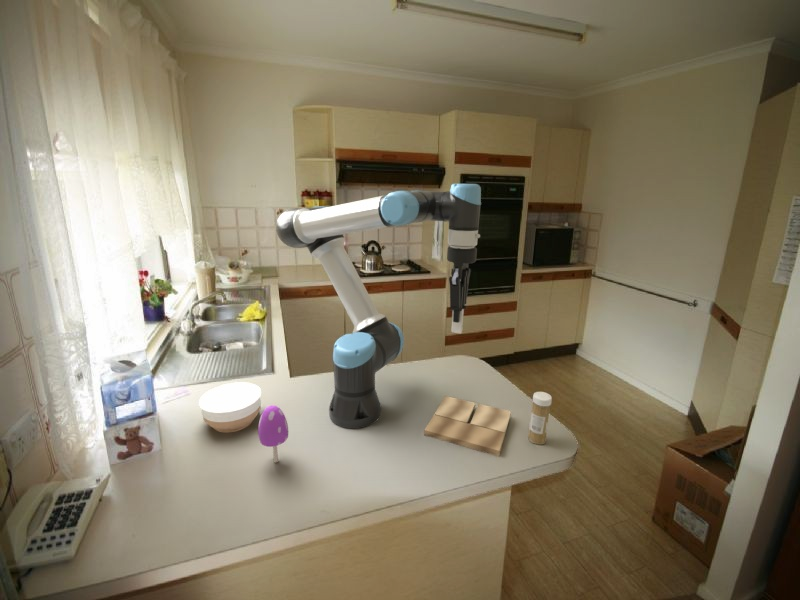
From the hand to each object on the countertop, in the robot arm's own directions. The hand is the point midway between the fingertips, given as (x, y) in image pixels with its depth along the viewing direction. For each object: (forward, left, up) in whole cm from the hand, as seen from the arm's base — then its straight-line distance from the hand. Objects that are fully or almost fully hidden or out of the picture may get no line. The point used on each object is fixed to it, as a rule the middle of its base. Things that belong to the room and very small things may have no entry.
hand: (456, 331), depth 107 cm
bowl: (-55, -29, -27) cm, 68 cm away
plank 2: (+11, +1, -26) cm, 28 cm away
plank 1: (+1, +1, -26) cm, 26 cm away
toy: (-33, -37, -27) cm, 56 cm away
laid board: (+6, -8, -26) cm, 28 cm away
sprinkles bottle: (+24, -1, -27) cm, 36 cm away
